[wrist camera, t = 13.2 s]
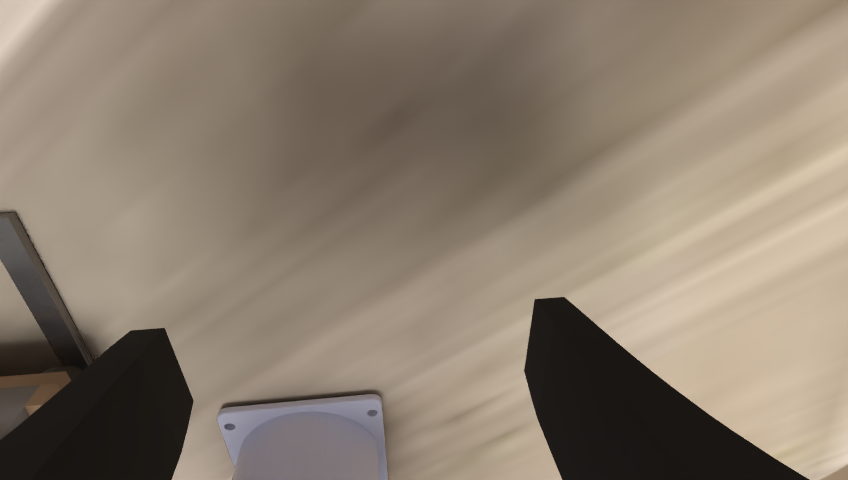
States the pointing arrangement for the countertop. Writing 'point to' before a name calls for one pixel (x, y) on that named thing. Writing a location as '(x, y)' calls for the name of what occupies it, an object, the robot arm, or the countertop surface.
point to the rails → (40, 293)
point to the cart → (30, 394)
